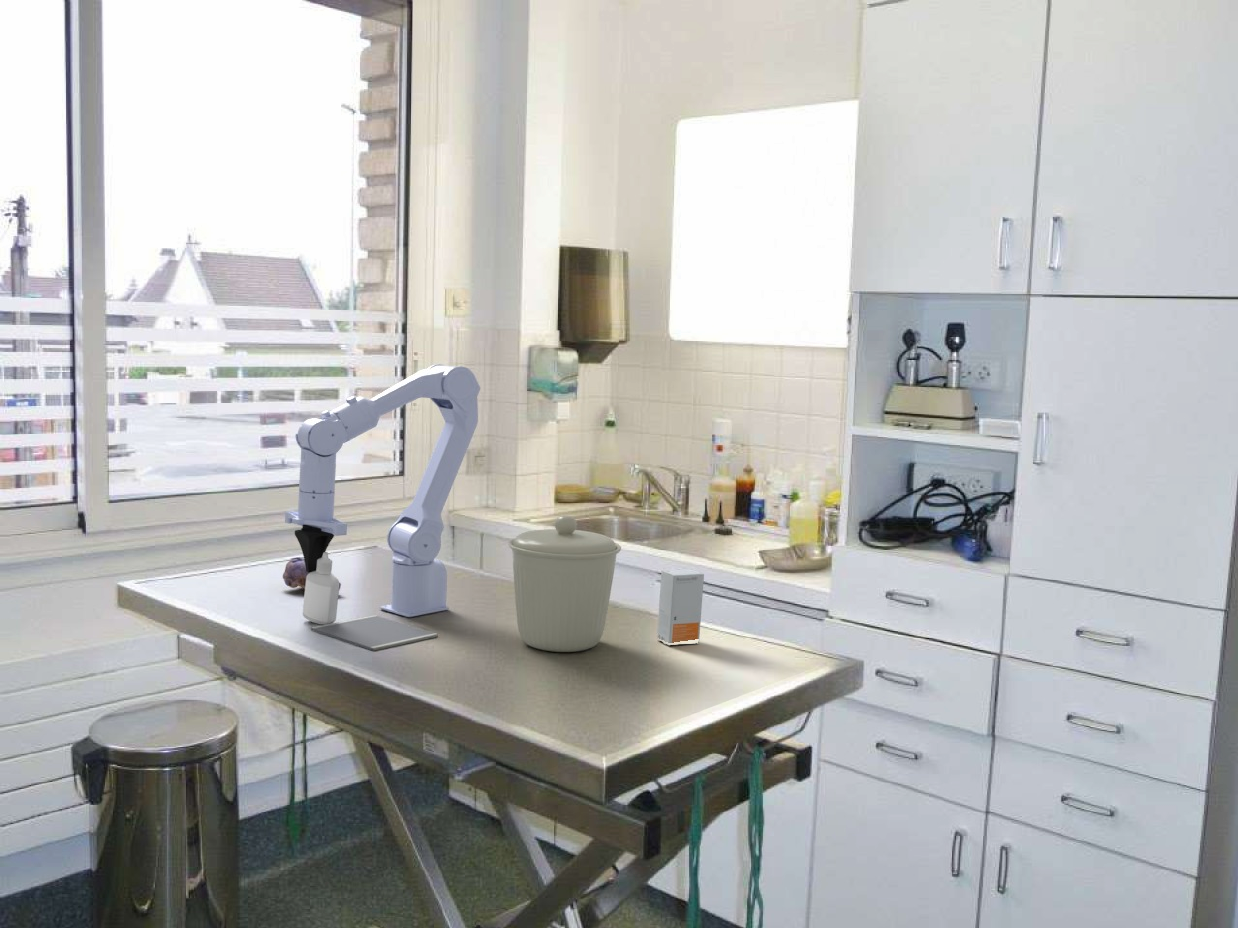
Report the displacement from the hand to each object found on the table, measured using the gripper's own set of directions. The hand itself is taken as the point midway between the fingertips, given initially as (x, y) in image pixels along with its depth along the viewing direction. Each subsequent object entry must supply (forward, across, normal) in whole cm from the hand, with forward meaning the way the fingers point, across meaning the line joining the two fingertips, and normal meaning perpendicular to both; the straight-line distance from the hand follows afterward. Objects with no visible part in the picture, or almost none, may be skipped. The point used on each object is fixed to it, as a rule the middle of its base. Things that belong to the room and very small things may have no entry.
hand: (313, 571), depth 185 cm
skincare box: (+7, +49, +38) cm, 62 cm away
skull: (+9, -18, +13) cm, 24 cm away
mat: (+8, +13, +3) cm, 16 cm away
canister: (+8, +37, +22) cm, 43 cm away
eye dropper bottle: (+8, +1, +1) cm, 8 cm away
